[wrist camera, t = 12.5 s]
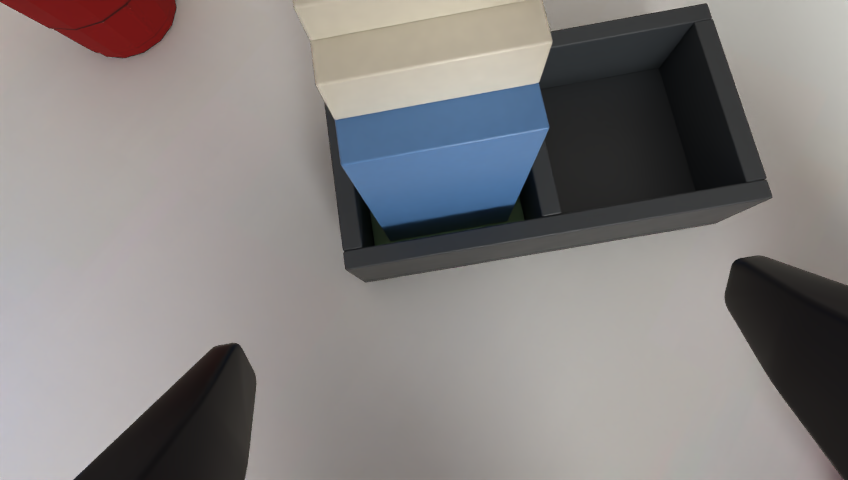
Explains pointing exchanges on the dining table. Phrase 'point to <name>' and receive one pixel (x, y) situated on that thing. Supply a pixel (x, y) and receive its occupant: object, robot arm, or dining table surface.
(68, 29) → the plastic cup
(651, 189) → the caddy
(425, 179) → the carton
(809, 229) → the dining table surface
